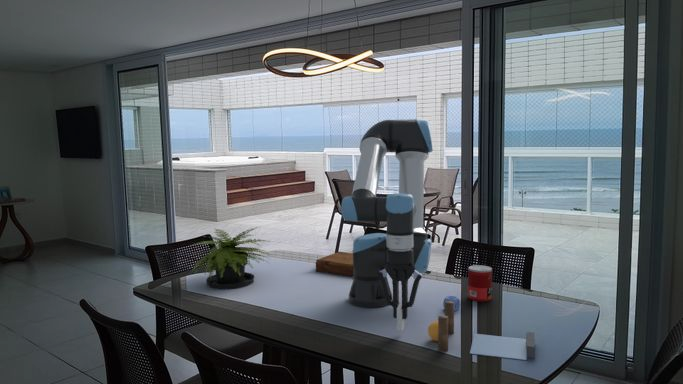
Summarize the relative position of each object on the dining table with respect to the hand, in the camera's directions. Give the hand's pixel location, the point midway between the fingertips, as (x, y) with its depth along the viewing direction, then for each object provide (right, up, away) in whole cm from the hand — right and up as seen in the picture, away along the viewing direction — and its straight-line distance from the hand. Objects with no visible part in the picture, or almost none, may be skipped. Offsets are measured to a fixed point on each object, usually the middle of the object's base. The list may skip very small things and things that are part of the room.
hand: (400, 329), depth 148 cm
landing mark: (+26, -2, -9) cm, 27 cm away
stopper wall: (+33, -3, -11) cm, 35 cm away
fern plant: (-61, +3, +59) cm, 85 cm away
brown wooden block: (-13, +5, +74) cm, 76 cm away
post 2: (+14, -1, +2) cm, 15 cm away
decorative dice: (+19, 0, +22) cm, 29 cm away
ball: (+10, +1, -4) cm, 11 cm away
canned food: (+31, +2, +33) cm, 45 cm away
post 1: (+10, -3, -10) cm, 15 cm away
